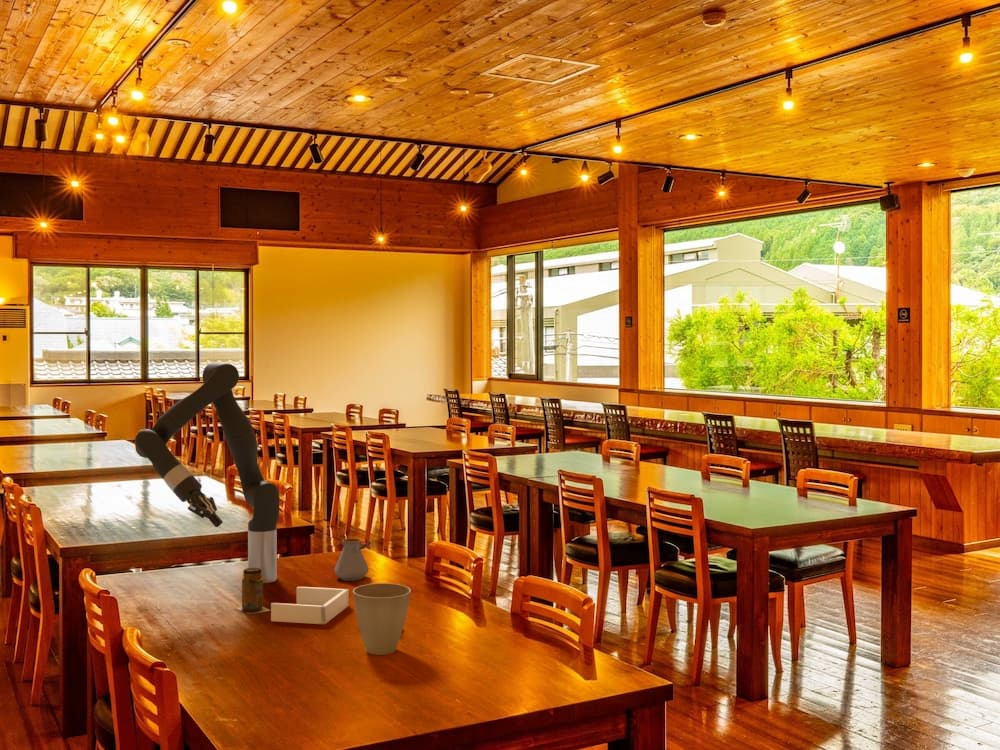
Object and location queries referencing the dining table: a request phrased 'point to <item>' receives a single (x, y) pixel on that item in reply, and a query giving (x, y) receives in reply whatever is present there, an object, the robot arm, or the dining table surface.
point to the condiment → (252, 591)
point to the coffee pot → (352, 561)
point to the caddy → (312, 606)
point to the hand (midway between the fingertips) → (219, 524)
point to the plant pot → (381, 615)
